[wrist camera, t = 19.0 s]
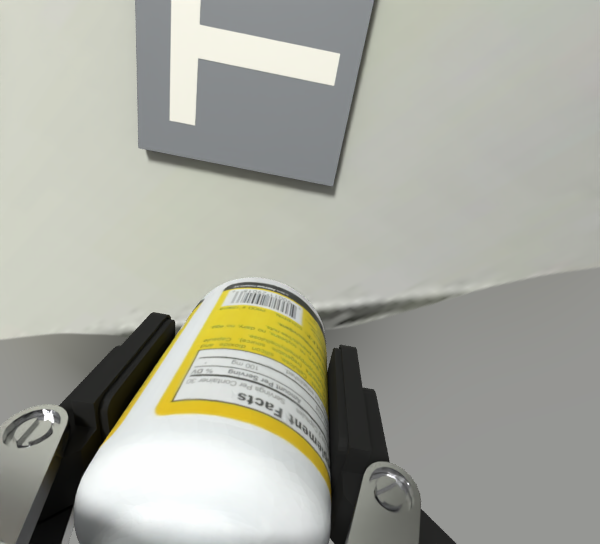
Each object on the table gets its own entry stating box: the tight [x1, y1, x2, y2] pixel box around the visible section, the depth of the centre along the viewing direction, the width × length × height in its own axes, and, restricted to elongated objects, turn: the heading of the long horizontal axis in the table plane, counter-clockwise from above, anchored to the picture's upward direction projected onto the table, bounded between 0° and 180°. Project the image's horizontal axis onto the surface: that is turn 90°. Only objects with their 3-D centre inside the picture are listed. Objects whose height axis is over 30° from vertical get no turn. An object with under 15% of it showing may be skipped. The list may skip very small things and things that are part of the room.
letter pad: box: [135, 0, 374, 186], centre depth 23 cm, size 16×16×1 cm
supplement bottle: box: [73, 277, 331, 544], centre depth 9 cm, size 5×5×10 cm
